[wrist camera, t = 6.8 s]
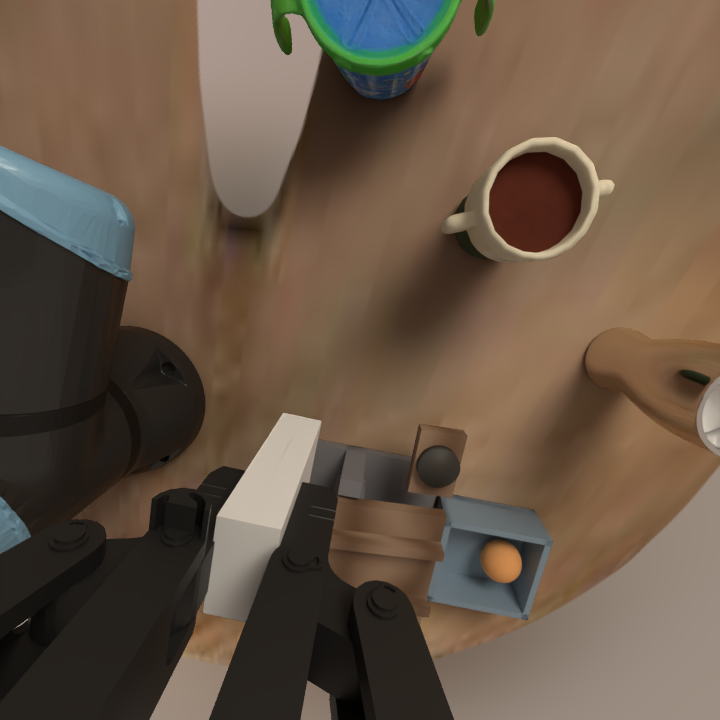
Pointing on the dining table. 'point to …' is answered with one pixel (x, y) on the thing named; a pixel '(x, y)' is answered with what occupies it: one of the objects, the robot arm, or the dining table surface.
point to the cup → (463, 549)
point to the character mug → (529, 203)
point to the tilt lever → (400, 523)
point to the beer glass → (663, 380)
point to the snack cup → (376, 37)
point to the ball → (501, 561)
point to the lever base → (365, 474)
